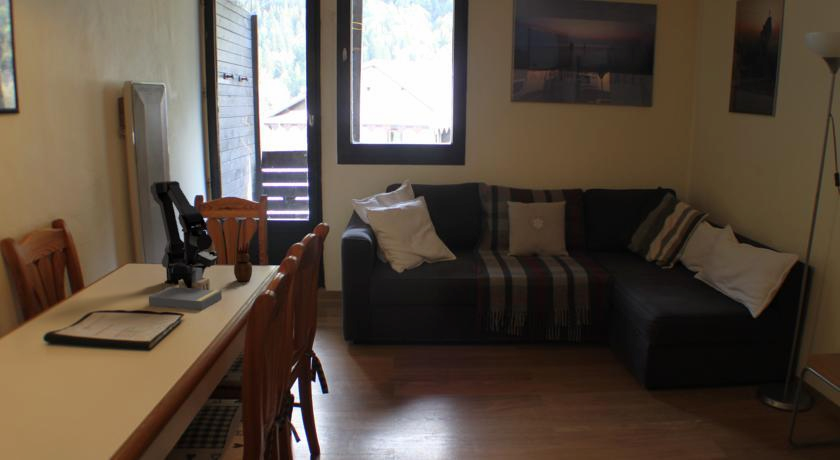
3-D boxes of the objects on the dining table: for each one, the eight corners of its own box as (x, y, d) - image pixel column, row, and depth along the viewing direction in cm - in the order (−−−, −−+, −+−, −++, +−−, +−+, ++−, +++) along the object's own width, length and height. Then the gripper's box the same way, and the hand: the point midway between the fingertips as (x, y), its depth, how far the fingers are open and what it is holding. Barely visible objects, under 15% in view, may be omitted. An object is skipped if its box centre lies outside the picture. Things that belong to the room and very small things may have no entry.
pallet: (178, 291, 249) (178, 280, 249) (187, 287, 255) (187, 276, 254) (201, 293, 247) (200, 282, 247) (209, 288, 253) (209, 278, 252)
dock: (149, 305, 233) (148, 296, 232) (170, 294, 245) (170, 286, 245) (202, 310, 228) (201, 300, 228) (221, 299, 241) (221, 290, 240)
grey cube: (185, 280, 249) (184, 270, 248) (191, 277, 253) (191, 267, 252) (196, 281, 248) (195, 270, 247) (202, 278, 252) (202, 268, 251)
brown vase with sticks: (254, 279, 268) (253, 241, 265) (249, 282, 262) (248, 244, 259) (237, 278, 268) (236, 241, 266) (232, 282, 263) (230, 244, 260)
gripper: (198, 252, 237) (200, 295, 240) (225, 241, 255) (226, 281, 258) (170, 250, 240) (172, 292, 243) (198, 239, 258) (200, 279, 261)
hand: (194, 286), depth 251 cm, fingers closed on pallet, 6 cm apart
